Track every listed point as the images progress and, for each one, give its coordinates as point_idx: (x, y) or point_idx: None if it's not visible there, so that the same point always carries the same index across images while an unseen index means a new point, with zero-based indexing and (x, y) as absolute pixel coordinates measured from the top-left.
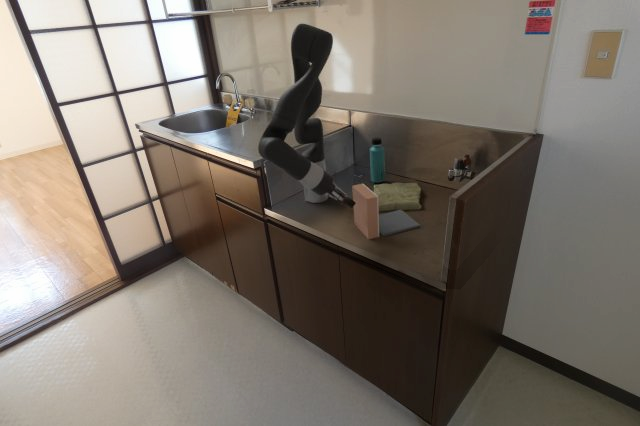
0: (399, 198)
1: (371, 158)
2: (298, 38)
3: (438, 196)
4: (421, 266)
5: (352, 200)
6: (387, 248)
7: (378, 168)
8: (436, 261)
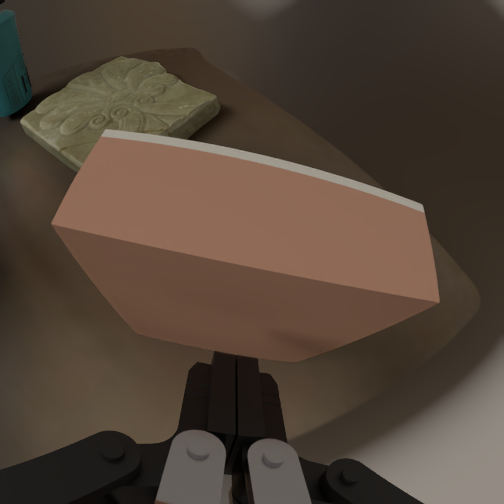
0: (152, 110)
1: None
2: None
3: (197, 66)
4: (463, 304)
5: (260, 388)
6: (379, 334)
7: (12, 70)
8: (455, 263)
